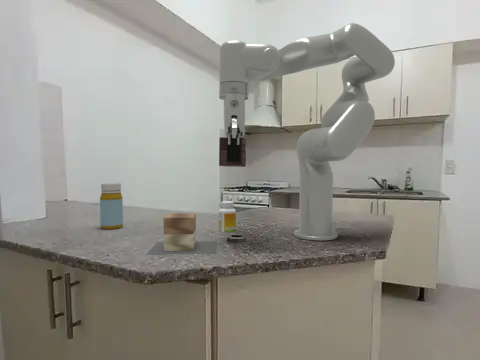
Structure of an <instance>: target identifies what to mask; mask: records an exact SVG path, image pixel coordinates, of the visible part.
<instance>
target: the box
mask: <svg viewBox="0 0 480 360" xmlns="http://www.w3.org/2000/svg"><path fill="white" fill-rule="evenodd" d="M218 140H219V147H218V148H219V149H218V150H219V151H218V153H219V155H218V159H219V160H218V166H219V167H226V168H227V167H230V168H231V167H239V168H241V167H242V168H243V167H247V166H246V164H247V163H246V162H247V157H246V156H247V139H246V138H244V137H240V136H239V145H238V146H240V161H239V162H228V161H227V145H228V137H226V136H225V137H223V136H220V137H219V139H218Z"/></svg>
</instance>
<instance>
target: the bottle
mask: <svg viewBox="0 0 480 360" xmlns="http://www.w3.org/2000/svg"><path fill="white" fill-rule="evenodd" d="M121 189H122V184H121V182H107V183H105V182H104V183H101V184H100V190H101V191H100V192H101V194H100V197H99V208H100V209H99V218H100V219H99V220H100V223H99V224H100V228H101V229H102V230H117V229H121V228H122V227H123V226H124V216H123V215H124V210H123V208H124V207H123V195H122V190H121Z"/></svg>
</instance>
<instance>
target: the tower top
mask: <svg viewBox="0 0 480 360" xmlns="http://www.w3.org/2000/svg"><path fill="white" fill-rule="evenodd" d="M196 215H197V214H196V213H195V212H194V213H191V212H189V213H188V212H187V213H185V212H184V213H181V212H180V213H176V212H175V213H171V212H170V213H167V214H166V215H165V216H164V217H163V236H164V235H173V234H194V232H195V229H196V230H197V228H196V227H197V221H196V220H197V216H196Z"/></svg>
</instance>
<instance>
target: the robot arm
mask: <svg viewBox="0 0 480 360" xmlns="http://www.w3.org/2000/svg"><path fill="white" fill-rule="evenodd" d="M347 59H348V61H347V62H346V63H345V64H344V65H343V67H342V69H341V81H342V86H343V87H342V88H343V89H342V93H341V94H340V95H339V97H338V98H337V99H336V100H335V101H334V102H333V103H332V105H331V106H330V107H329V108H328V109H327V110H326V111H325V113H324V114H323V116H322V118H321V121H320V126H321V127H318V128H312V129H309V130H306V131H305V132H302V134H301V135H300V136H299V138H298V140H297V143H296V153H297V158H298V165H299V166H298V167H299V202H298V203H299V209H298V210H299V211H298V212H299V215H298V216H299V221H298V225H299V227H298V229H295V230H293V235H294V237H295V238H298V239H302V240H306V241H307V240H308V241H330V240H331V241H332V240H336V239H337V238H338V237H339V234H338V232H339V231H349V230H350V226H349V223H341V222H339V223H338V222H336V221H333V198H334V197H333V193H334V191H333V189H334V188H333V187H334V186H333V185H334V179H333V178H334V175H333V174H334V173H333V170H332V167H331V165H330V162H340V161H343V160H346V159H347V158H349V157H350V156H351V155H352V154H353V153H354V152H355V151H356V149H357V148H358V146H360V144H361V143H362V142H363V140H364V139H365V138H366V137H367V136H368V134H369V133H370V132H371V130H372V128H373V127H374V123H375V118H376V114H375V110H374V107H373V105H372V104H371V103H370V102H369V99H370V98H369V94H368V92H367V89H366V85H365V84H366V83H369V82H372V81H376V80H379V79H381V78H385V77H387V76H388V75H390V74H391V73H392V72H393V69H394V68H395V63H396V62H395V61H396V60H395V55H394V54H393V52H392V50H391V49H390V48H389V47H388V45H386V44H385V43H384V42H383V41H381V40H380V39H379V38H378V37H377V36H376V35H375V34H373V33H372V32H371V31H370V30H369V29H367V28H366V27H364V26H362V25H361V24H359V23H355V22H354V23H353V22H351V23H348V24H346V25H344V26H342V27H341V28H339V29H337V30H335V31H333V32H330V33H325V34H319V35H314V36H309V37H308V36H307V37H301V38H298V39H296V40H294V41H291V42H289V43H288V44H285V45H284V46H282V47H279V48H277V47H275V46H274V45H272V44H268V43H246V42H244V41H241V40H227V41H225V42H223V43H222V44H221V45H220V48H219V83H218V84H219V88H218V89H219V91H218V92H219V93H218V97H219V99H220V100H222V101H223V127H224V128H223V129H224V136H225V137H228V145H227V161H228V162H239V161H240V146H238V145H239V137H242V138H244V137H245V134H246V132H245V131H246V122H245V121H246V119H245V118H246V105H245V104H246V103H245V102H246V101H247V100H249V90H250V89H249V87H250V86H249V85H250V84H249V83H258V82H262V81H268V80H271V79H275V78H279V77H283V76H286V75H291V74H297V73H300V72H303V71H306V70H310V69H315V68H320V67H323V66H329V65H334V64H338V63H341V62H343V61H345V60H347Z"/></svg>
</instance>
